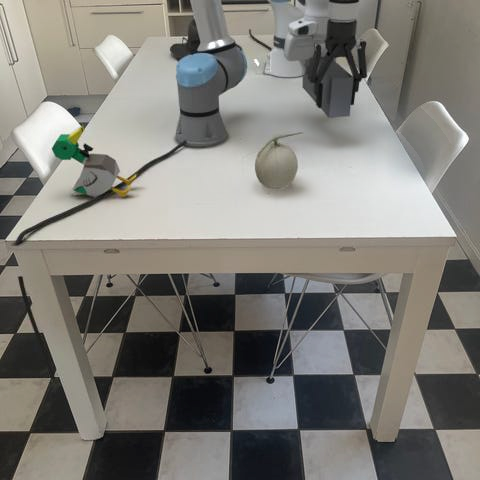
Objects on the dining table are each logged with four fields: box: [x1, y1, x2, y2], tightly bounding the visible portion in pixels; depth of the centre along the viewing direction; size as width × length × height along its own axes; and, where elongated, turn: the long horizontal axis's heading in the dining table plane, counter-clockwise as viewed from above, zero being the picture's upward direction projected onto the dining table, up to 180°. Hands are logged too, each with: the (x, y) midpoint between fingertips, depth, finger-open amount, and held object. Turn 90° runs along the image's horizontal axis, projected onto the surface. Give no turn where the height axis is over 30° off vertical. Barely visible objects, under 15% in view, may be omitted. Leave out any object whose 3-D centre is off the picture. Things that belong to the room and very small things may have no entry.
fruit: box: [254, 131, 304, 191], centre depth 125 cm, size 10×12×15 cm
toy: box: [51, 125, 137, 198], centre depth 126 cm, size 6×17×20 cm
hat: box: [169, 18, 242, 60], centre depth 228 cm, size 32×35×14 cm
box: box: [301, 57, 354, 119], centre depth 149 cm, size 26×6×11 cm, turn 11°
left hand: (334, 104), depth 144 cm, fingers open, 9 cm apart
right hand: (316, 73), depth 156 cm, fingers closed on box, 6 cm apart
